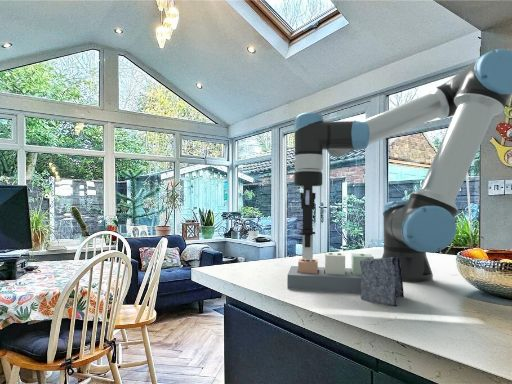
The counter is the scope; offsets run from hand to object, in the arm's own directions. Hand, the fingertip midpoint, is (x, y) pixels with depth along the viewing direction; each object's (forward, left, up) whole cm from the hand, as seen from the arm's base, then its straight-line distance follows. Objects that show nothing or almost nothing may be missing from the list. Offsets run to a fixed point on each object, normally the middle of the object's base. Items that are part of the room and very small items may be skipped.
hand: (307, 258), depth 93 cm
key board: (-7, 0, -8) cm, 11 cm away
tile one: (-14, 0, -4) cm, 15 cm away
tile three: (0, 0, -6) cm, 6 cm away
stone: (-17, +10, -8) cm, 22 cm away
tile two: (-7, 0, -4) cm, 8 cm away
